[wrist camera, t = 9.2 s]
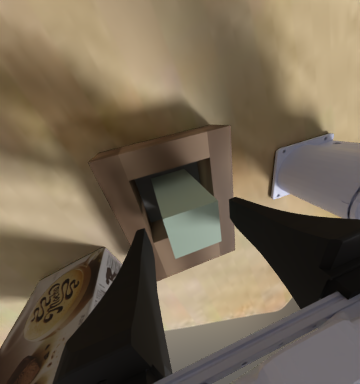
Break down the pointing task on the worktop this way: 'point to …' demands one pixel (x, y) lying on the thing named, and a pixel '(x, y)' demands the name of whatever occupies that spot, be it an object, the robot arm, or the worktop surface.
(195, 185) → the peg
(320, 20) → the worktop surface
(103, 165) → the well block
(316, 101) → the worktop surface
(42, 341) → the coffee box
